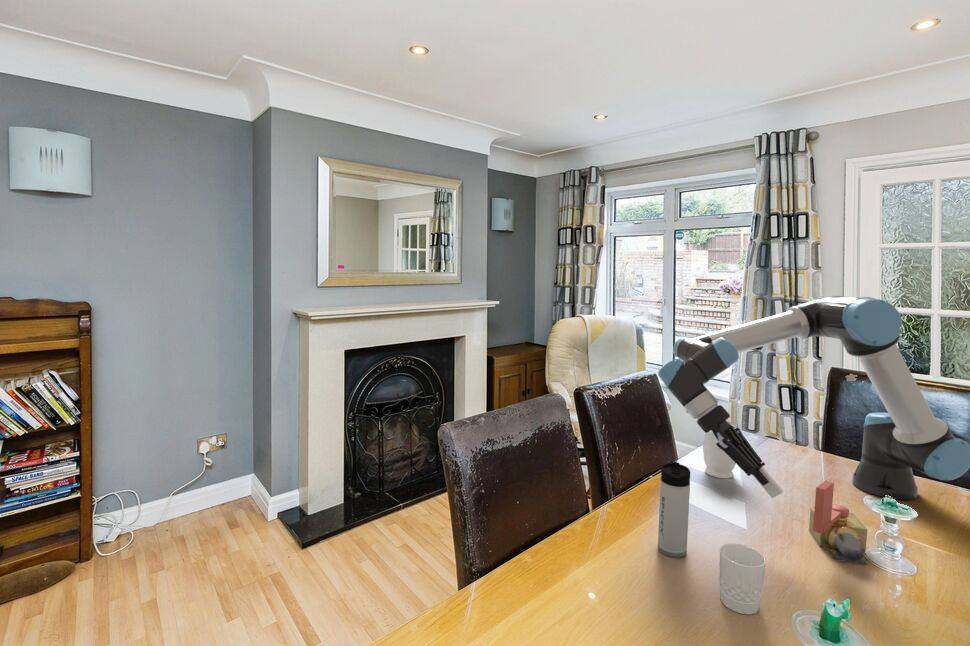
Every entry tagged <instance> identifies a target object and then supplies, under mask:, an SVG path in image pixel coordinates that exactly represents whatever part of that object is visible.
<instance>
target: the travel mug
mask: <svg viewBox="0 0 970 646" xmlns="http://www.w3.org/2000/svg"><path fill="white" fill-rule="evenodd" d="M660 472H661V473H660V476H661V477H660V484H659V485H660V486H659V487H660V489H659V507H658V512H659V513H658V534H657V535H658V536H657V550H658V551H659V552H660V553H661V554H662V555H665V556H667V557H670V558H675V559H676V558H677V559H678V558H679V559H680V558H683V557H686V555H687V551H688V532H689V531H688V528H689V512H690V511H689V510H690V495H691V494H690V489H691V470H690V468H688V467H687V466H685V465H682V464H680V462H677V461H671V462H669V463H665V464H662V465H661V471H660Z"/></svg>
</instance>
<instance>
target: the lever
mask: <svg viewBox="0 0 970 646" xmlns="http://www.w3.org/2000/svg"><path fill="white" fill-rule="evenodd" d="M834 488H835V482H833V481H830V480H824V481H823V482H822V483H820V484H819V485H817V486H816V488H815V497H814V507H815V510H814V523H813V531H815V532H818V533H822V532H825V531H826V530H827V529H828V528H829V527H830V526H832V525H833V524H834V523H835V522H836V521H837V520H838V519H839V518H840V517H841V518H847V517H849V513H850V509H849V508H847V507H846V506H844V505H842V504H836V503H833V501H834V500H833V499H834V490H835V489H834Z"/></svg>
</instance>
